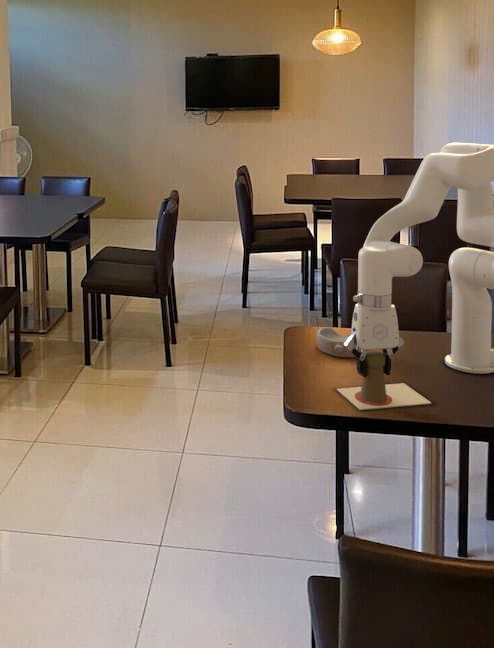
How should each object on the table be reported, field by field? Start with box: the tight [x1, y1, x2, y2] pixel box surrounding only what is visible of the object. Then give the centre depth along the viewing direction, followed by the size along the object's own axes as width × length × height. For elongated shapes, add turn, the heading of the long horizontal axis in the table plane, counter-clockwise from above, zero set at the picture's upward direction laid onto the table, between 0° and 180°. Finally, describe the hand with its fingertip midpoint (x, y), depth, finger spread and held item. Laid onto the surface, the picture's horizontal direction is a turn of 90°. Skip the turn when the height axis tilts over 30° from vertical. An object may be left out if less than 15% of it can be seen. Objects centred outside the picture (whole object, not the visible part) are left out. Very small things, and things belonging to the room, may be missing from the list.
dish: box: [316, 326, 369, 358], centre depth 208 cm, size 14×14×5 cm
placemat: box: [336, 382, 433, 411], centre depth 177 cm, size 18×12×1 cm, turn 99°
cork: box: [360, 350, 387, 402], centre depth 175 cm, size 6×6×11 cm
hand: (373, 373), depth 175 cm, fingers closed on cork, 5 cm apart
